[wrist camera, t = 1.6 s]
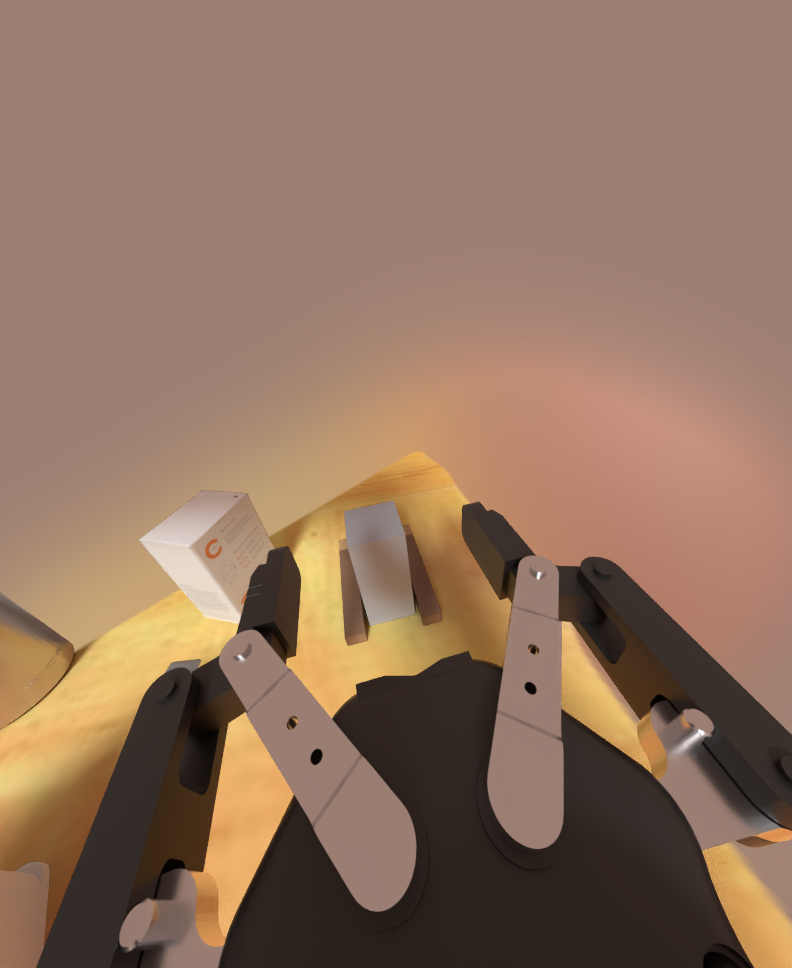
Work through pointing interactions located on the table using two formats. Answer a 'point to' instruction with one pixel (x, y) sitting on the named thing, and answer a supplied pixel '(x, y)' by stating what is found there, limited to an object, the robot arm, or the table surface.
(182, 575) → the small box
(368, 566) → the slate block
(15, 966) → the phone holder
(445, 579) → the table surface
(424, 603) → the pair of brown sticks
